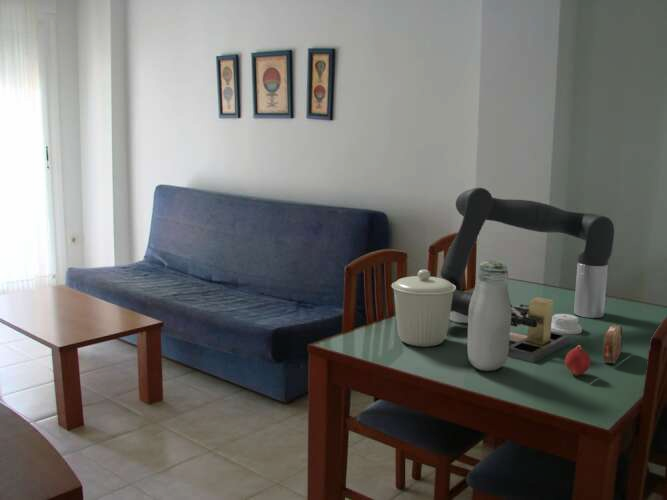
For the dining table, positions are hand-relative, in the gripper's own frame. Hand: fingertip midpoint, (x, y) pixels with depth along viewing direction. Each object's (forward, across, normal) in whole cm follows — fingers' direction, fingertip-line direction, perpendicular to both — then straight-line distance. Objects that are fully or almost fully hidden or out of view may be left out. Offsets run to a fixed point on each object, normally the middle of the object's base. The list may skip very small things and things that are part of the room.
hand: (544, 320), depth 175 cm
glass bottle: (-4, -23, +9) cm, 25 cm away
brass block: (-1, 0, +8) cm, 9 cm away
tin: (+16, +7, +9) cm, 20 cm away
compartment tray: (-1, 0, +9) cm, 9 cm away
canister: (-29, -16, +9) cm, 34 cm away
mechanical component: (-4, +23, +9) cm, 25 cm away
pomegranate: (+14, -11, +9) cm, 20 cm away
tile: (-10, +5, +9) cm, 14 cm away
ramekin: (-32, +11, +9) cm, 35 cm away
